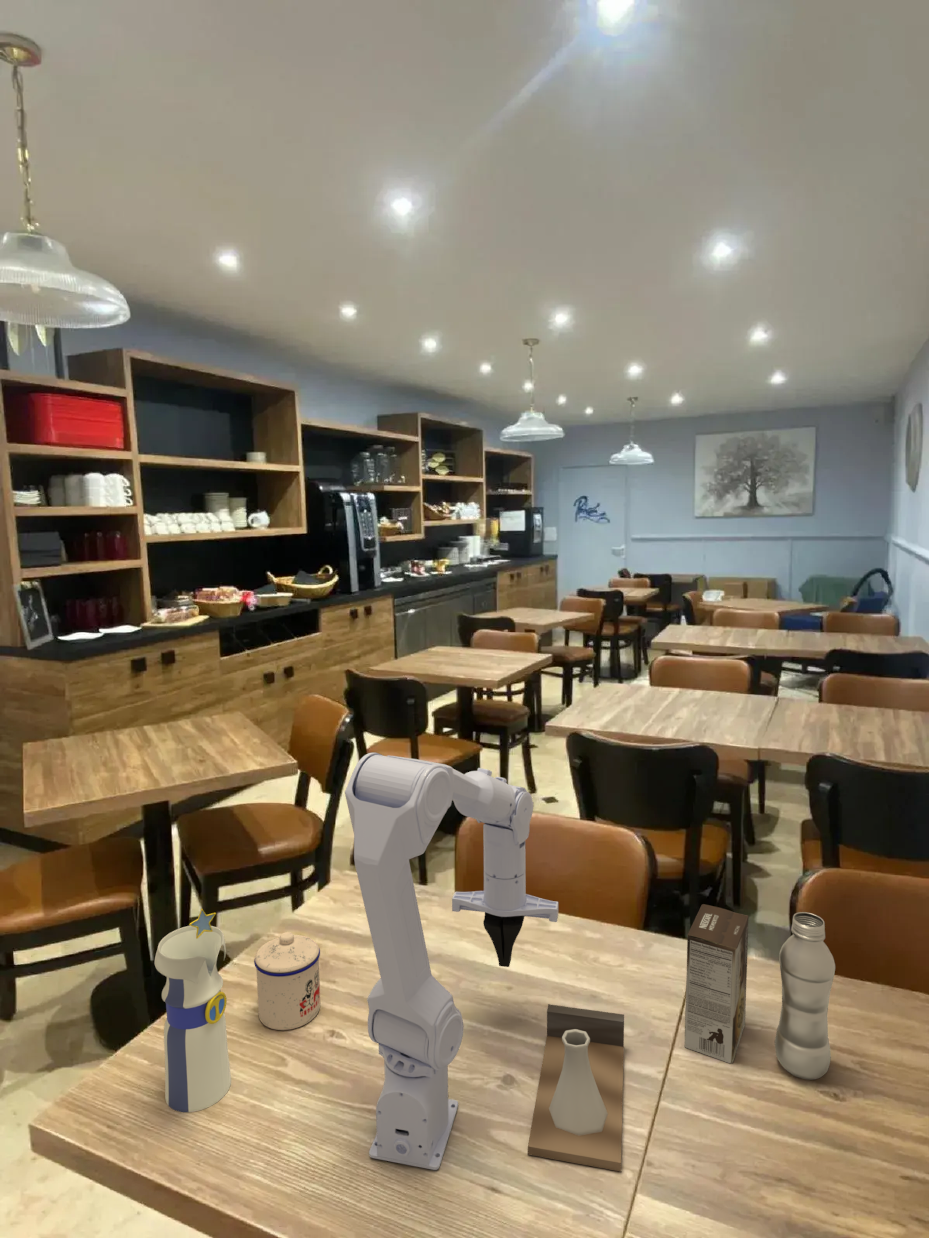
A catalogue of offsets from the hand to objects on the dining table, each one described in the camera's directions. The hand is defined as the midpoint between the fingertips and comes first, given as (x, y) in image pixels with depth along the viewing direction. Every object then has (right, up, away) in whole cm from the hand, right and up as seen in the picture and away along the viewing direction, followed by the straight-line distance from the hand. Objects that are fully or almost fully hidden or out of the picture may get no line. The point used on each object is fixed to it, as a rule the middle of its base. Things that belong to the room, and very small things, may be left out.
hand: (505, 962), depth 101 cm
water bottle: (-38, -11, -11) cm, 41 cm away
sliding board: (+8, -10, -14) cm, 19 cm away
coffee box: (+28, -9, -3) cm, 30 cm away
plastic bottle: (+37, -9, -9) cm, 39 cm away
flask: (+8, -11, -17) cm, 21 cm away
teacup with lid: (-31, -9, +5) cm, 32 cm away
